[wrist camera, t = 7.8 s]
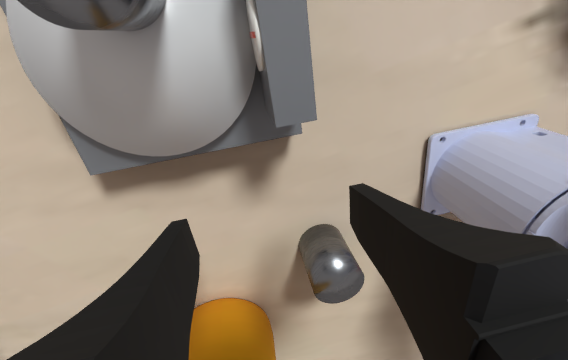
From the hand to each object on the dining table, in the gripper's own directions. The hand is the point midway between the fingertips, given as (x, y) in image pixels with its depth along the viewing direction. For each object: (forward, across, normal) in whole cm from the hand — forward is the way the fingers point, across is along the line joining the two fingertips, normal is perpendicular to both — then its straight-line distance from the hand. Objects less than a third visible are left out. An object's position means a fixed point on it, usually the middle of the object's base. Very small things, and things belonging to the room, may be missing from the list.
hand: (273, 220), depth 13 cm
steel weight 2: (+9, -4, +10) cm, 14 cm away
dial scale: (+9, +4, -7) cm, 12 cm away
